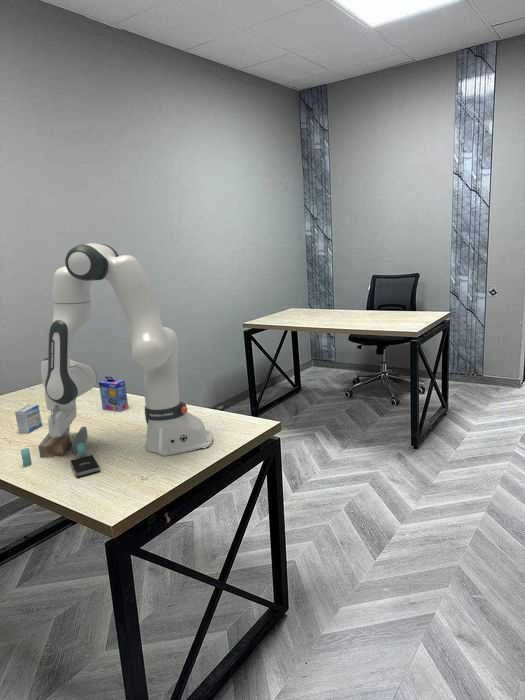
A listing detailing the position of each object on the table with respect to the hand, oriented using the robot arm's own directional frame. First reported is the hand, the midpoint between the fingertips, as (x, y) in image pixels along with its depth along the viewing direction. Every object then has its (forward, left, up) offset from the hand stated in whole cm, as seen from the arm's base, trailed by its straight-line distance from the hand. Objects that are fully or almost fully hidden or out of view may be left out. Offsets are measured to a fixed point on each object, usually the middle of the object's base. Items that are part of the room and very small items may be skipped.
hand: (66, 439), depth 167 cm
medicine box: (+18, -19, -2) cm, 26 cm away
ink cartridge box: (-11, -34, -2) cm, 36 cm away
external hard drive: (-11, +21, -2) cm, 24 cm away
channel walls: (0, +2, -2) cm, 3 cm away
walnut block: (+1, +6, -2) cm, 6 cm away
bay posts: (0, +14, -2) cm, 14 cm away
